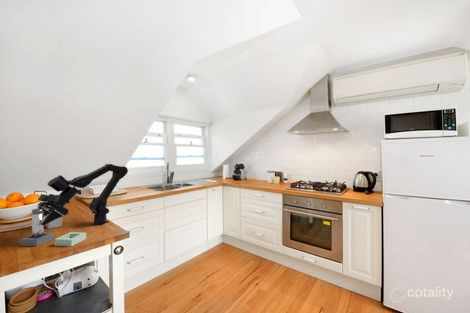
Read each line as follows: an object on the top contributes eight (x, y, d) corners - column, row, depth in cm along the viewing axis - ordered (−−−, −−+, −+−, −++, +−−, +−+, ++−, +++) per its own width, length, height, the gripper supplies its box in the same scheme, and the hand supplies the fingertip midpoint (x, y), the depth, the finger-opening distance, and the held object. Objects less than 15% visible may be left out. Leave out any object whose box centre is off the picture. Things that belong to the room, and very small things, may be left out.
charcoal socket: (38, 238, 100) (38, 232, 100) (54, 238, 99) (54, 232, 99) (19, 245, 91) (19, 239, 91) (36, 246, 91) (36, 239, 91)
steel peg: (38, 240, 97) (38, 208, 97) (45, 240, 97) (45, 208, 97) (29, 243, 93) (29, 210, 93) (37, 243, 93) (37, 210, 93)
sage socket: (70, 238, 100) (70, 232, 100) (86, 238, 99) (86, 232, 99) (54, 245, 92) (54, 239, 92) (71, 246, 91) (71, 239, 91)
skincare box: (44, 225, 117) (44, 199, 117) (60, 222, 122) (60, 197, 122) (47, 229, 112) (48, 201, 112) (64, 225, 117) (64, 199, 117)
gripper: (42, 186, 104) (12, 212, 94) (61, 189, 96) (30, 217, 86) (60, 198, 111) (34, 223, 101) (79, 201, 103) (52, 229, 93)
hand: (37, 223), depth 95 cm, fingers open, 9 cm apart
